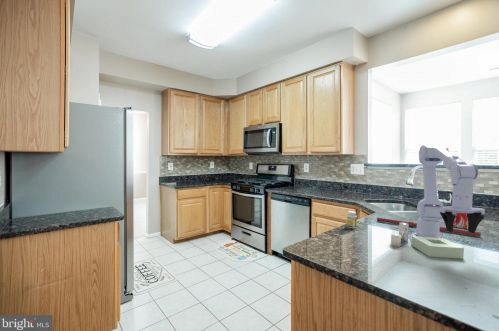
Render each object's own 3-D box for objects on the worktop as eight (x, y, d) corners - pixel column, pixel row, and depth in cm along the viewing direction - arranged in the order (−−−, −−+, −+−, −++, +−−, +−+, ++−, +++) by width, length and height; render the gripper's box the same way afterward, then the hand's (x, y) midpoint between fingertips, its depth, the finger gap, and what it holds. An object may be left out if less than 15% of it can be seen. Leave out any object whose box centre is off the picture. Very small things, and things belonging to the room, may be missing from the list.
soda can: (466, 229, 130) (467, 207, 129) (449, 226, 135) (450, 205, 135) (468, 227, 134) (469, 206, 134) (451, 224, 140) (452, 204, 139)
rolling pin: (376, 222, 143) (376, 216, 142) (377, 221, 145) (377, 215, 145) (480, 238, 116) (481, 231, 116) (479, 236, 119) (479, 230, 119)
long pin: (397, 239, 111) (397, 222, 111) (405, 240, 111) (406, 222, 111) (401, 242, 108) (401, 224, 107) (409, 242, 107) (410, 225, 107)
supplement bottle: (354, 226, 133) (354, 210, 132) (358, 228, 128) (358, 212, 128) (345, 226, 132) (345, 210, 132) (349, 228, 128) (349, 212, 127)
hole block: (411, 245, 104) (412, 236, 104) (441, 247, 103) (442, 237, 103) (428, 256, 92) (429, 246, 92) (463, 258, 91) (463, 248, 91)
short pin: (389, 243, 106) (389, 233, 106) (398, 243, 106) (398, 233, 105) (393, 246, 102) (393, 235, 102) (402, 246, 102) (402, 236, 102)
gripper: (448, 197, 87) (447, 234, 88) (493, 198, 86) (490, 236, 86) (436, 194, 94) (434, 228, 95) (476, 195, 93) (474, 230, 93)
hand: (460, 232), depth 91 cm, fingers open, 7 cm apart
